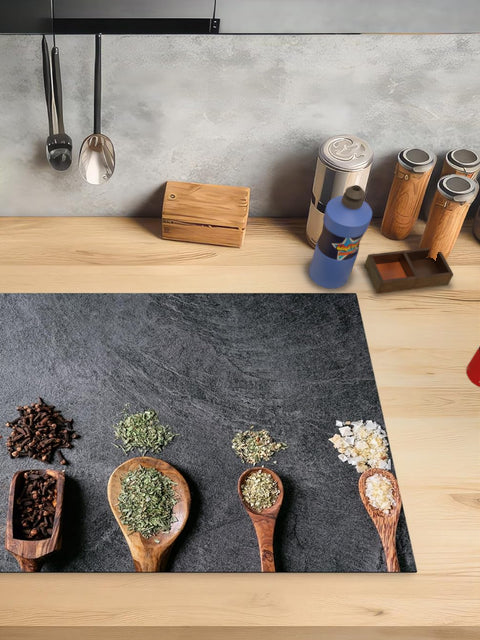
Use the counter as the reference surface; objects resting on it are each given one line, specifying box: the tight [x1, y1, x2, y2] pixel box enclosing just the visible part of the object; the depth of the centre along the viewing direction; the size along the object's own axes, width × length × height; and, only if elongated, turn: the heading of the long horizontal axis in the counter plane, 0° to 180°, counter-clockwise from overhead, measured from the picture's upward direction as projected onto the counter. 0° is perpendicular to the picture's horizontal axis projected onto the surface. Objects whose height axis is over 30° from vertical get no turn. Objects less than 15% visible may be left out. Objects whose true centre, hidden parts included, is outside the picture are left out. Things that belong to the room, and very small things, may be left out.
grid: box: [364, 247, 454, 294], centre depth 164 cm, size 16×9×4 cm, turn 98°
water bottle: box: [308, 184, 373, 290], centre depth 156 cm, size 9×9×25 cm
